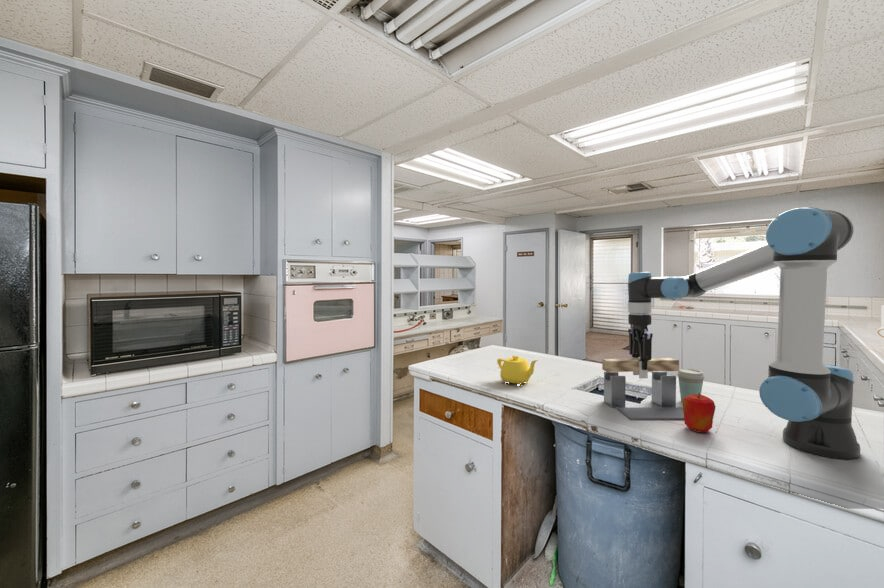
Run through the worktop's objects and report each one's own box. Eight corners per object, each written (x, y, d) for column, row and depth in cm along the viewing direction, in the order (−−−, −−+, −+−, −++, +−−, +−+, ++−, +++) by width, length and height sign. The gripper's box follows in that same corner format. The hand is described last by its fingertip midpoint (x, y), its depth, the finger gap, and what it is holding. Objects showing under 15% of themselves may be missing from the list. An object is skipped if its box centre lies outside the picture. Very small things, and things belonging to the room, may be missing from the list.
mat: (703, 419, 123) (703, 418, 123) (630, 419, 124) (630, 418, 124) (685, 409, 133) (685, 407, 133) (617, 409, 134) (617, 407, 134)
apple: (685, 422, 121) (686, 386, 121) (717, 429, 115) (718, 392, 115) (678, 429, 115) (679, 392, 115) (711, 438, 109) (712, 398, 109)
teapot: (532, 390, 157) (532, 361, 156) (490, 383, 169) (490, 356, 168) (544, 383, 167) (544, 355, 167) (504, 376, 179) (504, 351, 179)
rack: (675, 407, 134) (676, 376, 134) (611, 407, 135) (611, 376, 135) (664, 401, 141) (665, 371, 141) (603, 401, 142) (603, 371, 142)
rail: (672, 368, 139) (672, 357, 139) (679, 371, 135) (679, 360, 135) (602, 369, 140) (602, 358, 140) (606, 371, 136) (606, 361, 136)
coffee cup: (708, 407, 135) (709, 374, 134) (682, 405, 136) (683, 373, 136) (697, 399, 143) (698, 368, 142) (673, 398, 145) (673, 367, 144)
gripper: (662, 315, 128) (663, 382, 129) (638, 311, 145) (639, 370, 146) (640, 316, 128) (641, 382, 129) (619, 312, 145) (619, 371, 146)
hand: (640, 376), depth 137 cm, fingers closed on rail, 4 cm apart
